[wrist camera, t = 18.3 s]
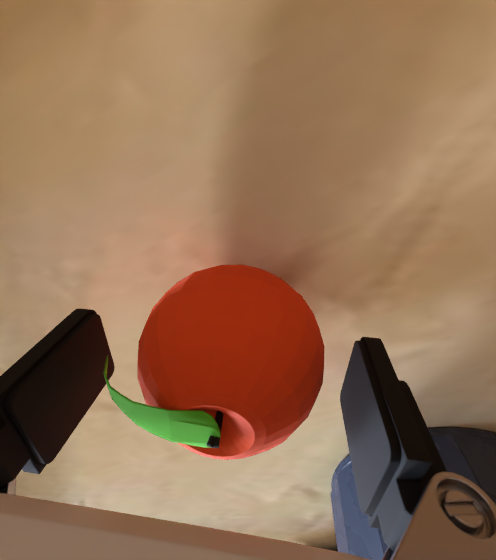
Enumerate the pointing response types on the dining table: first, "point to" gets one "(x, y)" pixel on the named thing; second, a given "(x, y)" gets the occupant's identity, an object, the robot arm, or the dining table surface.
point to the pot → (457, 458)
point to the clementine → (227, 363)
